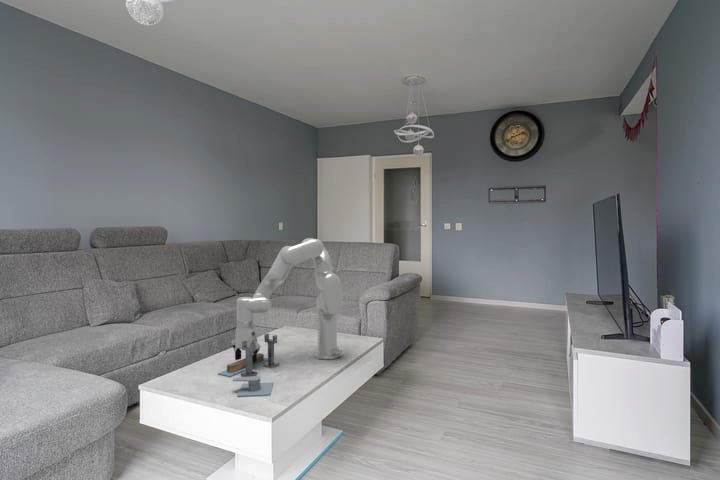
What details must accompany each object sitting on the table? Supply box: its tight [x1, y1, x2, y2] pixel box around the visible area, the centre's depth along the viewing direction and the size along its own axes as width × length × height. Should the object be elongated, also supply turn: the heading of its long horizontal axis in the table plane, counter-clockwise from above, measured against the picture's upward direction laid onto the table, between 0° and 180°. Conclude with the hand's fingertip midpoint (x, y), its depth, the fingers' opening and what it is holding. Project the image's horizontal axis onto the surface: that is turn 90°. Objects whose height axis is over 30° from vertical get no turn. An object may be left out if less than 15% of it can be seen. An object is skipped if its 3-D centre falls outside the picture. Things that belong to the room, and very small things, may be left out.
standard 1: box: [240, 341, 259, 377], centre depth 181 cm, size 6×5×14 cm
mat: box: [218, 357, 268, 378], centre depth 192 cm, size 7×26×1 cm, turn 150°
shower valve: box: [232, 375, 274, 398], centre depth 165 cm, size 12×6×15 cm
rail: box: [226, 352, 265, 373], centre depth 192 cm, size 3×20×3 cm, turn 150°
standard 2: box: [262, 333, 280, 369], centre depth 193 cm, size 6×5×14 cm
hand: (245, 361), depth 192 cm, fingers open, 9 cm apart
